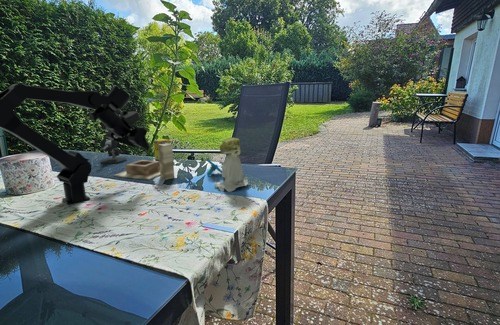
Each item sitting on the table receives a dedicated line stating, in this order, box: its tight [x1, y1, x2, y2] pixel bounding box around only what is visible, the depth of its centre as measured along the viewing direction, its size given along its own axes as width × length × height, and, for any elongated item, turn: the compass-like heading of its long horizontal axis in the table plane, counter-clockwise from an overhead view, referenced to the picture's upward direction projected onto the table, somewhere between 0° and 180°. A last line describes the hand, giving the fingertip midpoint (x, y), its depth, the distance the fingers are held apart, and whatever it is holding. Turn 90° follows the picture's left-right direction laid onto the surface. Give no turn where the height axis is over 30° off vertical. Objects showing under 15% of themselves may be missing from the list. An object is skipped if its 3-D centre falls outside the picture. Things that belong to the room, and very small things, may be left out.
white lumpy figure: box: [214, 137, 250, 193], centre depth 103 cm, size 12×13×18 cm
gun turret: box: [99, 136, 128, 165], centre depth 142 cm, size 13×20×13 cm, turn 14°
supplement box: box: [153, 138, 171, 161], centre depth 146 cm, size 6×6×11 cm
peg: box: [158, 143, 175, 180], centre depth 115 cm, size 4×4×14 cm
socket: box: [113, 159, 161, 181], centre depth 123 cm, size 18×16×5 cm
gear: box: [206, 158, 222, 177], centre depth 119 cm, size 11×6×10 cm
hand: (141, 147), depth 110 cm, fingers open, 9 cm apart
